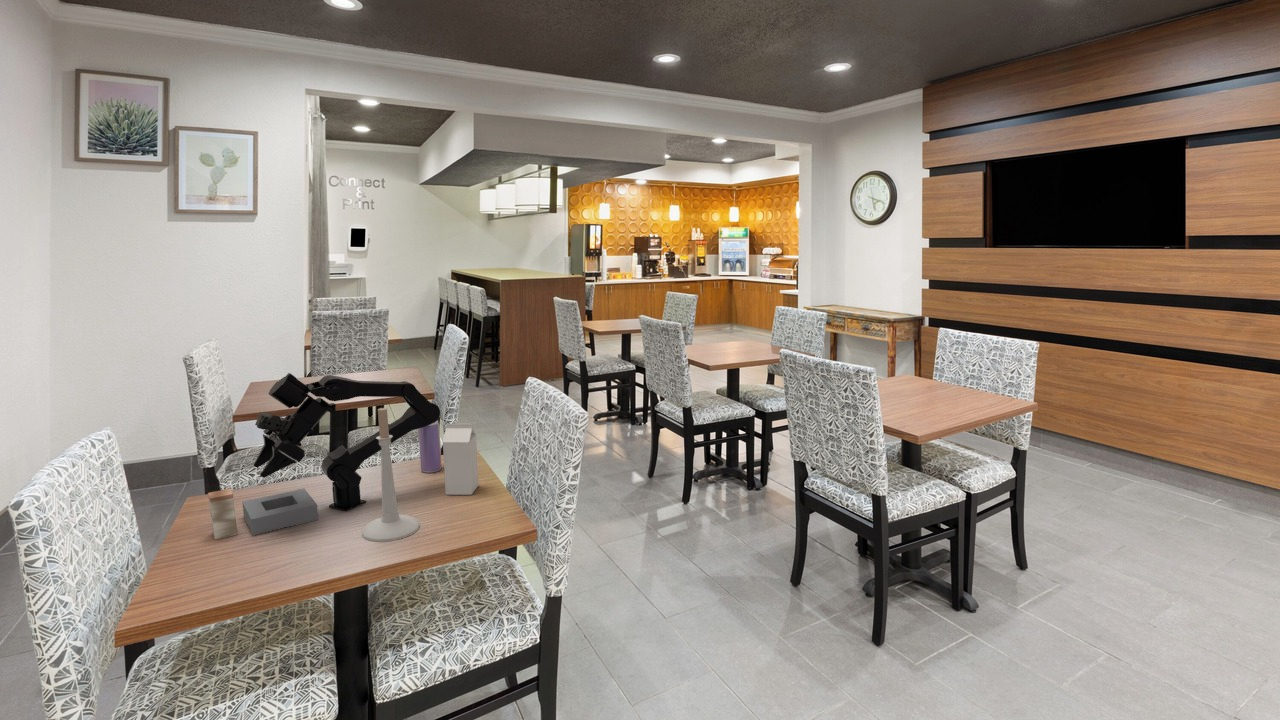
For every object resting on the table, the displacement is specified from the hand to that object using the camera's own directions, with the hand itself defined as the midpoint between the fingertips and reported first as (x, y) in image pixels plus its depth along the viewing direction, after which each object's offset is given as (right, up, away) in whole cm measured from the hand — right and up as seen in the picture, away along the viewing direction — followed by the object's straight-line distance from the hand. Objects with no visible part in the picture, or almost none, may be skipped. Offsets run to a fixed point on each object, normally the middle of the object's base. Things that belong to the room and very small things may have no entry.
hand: (258, 471), depth 152 cm
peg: (-6, -14, -3) cm, 16 cm away
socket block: (+2, -13, +6) cm, 14 cm away
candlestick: (+32, -14, -1) cm, 35 cm away
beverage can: (+28, -7, +41) cm, 50 cm away
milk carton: (+42, -10, +24) cm, 49 cm away
